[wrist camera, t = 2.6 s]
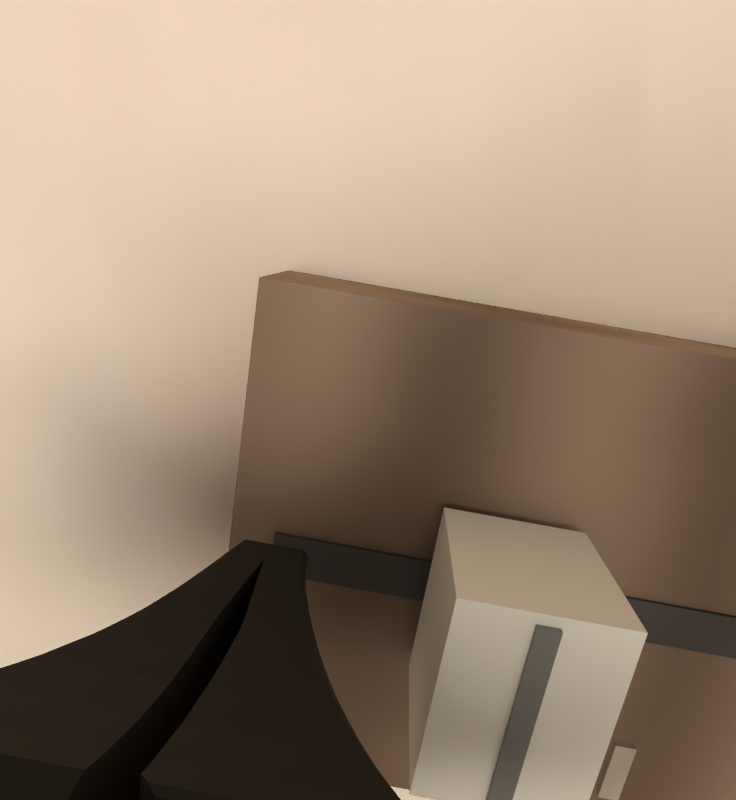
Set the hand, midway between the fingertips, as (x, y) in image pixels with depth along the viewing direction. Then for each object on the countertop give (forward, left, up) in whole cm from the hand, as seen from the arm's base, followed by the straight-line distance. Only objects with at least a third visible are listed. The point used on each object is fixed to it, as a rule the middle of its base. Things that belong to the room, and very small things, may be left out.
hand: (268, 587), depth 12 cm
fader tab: (-5, 0, -1) cm, 5 cm away
